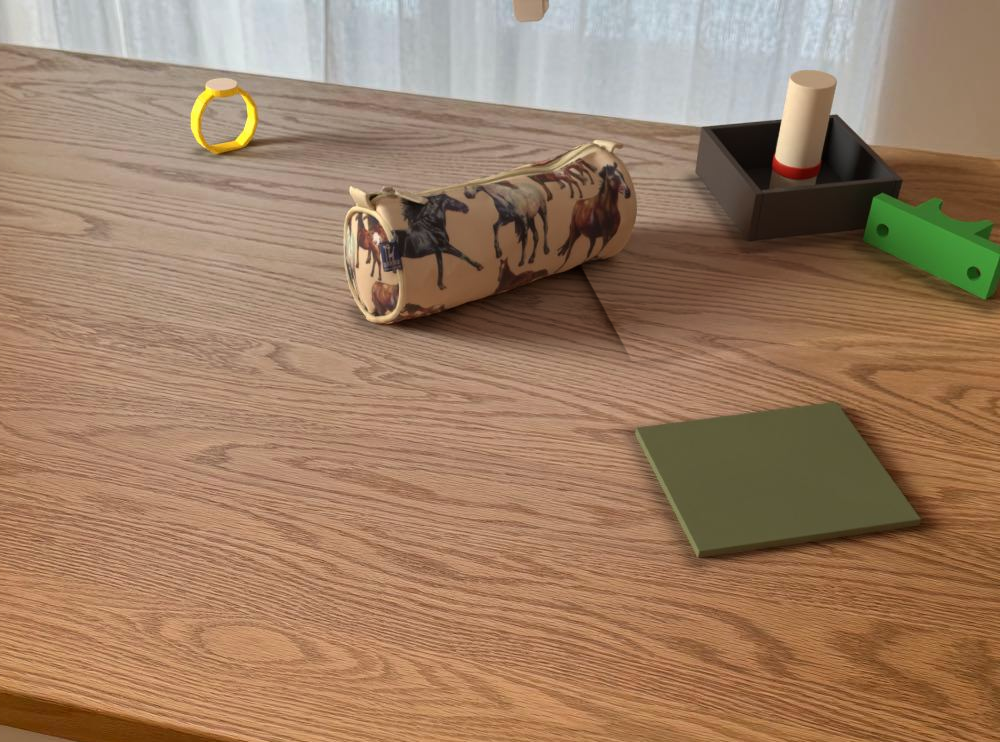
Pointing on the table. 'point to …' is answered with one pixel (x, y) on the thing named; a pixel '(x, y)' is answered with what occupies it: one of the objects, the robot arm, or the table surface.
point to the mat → (773, 479)
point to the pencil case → (485, 232)
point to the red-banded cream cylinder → (803, 129)
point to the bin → (795, 210)
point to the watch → (222, 90)
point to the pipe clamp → (936, 242)
